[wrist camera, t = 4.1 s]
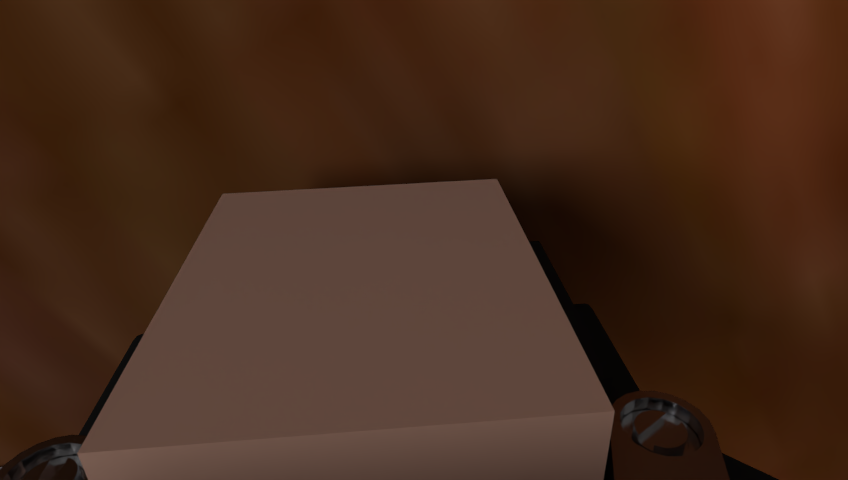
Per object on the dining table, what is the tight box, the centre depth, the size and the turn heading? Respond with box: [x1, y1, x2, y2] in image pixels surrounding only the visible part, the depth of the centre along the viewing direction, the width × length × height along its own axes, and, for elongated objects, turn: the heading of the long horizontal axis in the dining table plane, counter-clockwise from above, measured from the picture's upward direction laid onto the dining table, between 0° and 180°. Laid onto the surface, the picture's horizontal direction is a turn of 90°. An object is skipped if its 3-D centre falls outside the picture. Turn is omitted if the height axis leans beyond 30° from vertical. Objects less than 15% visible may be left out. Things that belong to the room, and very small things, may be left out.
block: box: [77, 179, 615, 480], centre depth 9 cm, size 5×5×6 cm
